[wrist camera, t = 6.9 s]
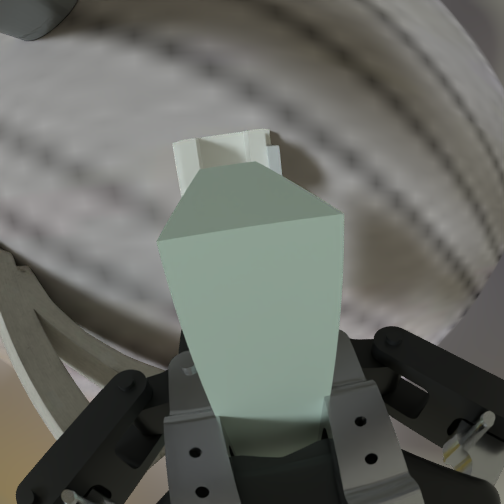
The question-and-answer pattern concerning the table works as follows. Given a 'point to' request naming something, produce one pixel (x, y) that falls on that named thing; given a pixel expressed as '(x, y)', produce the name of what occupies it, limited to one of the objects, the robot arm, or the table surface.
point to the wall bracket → (53, 349)
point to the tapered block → (258, 301)
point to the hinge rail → (224, 153)
